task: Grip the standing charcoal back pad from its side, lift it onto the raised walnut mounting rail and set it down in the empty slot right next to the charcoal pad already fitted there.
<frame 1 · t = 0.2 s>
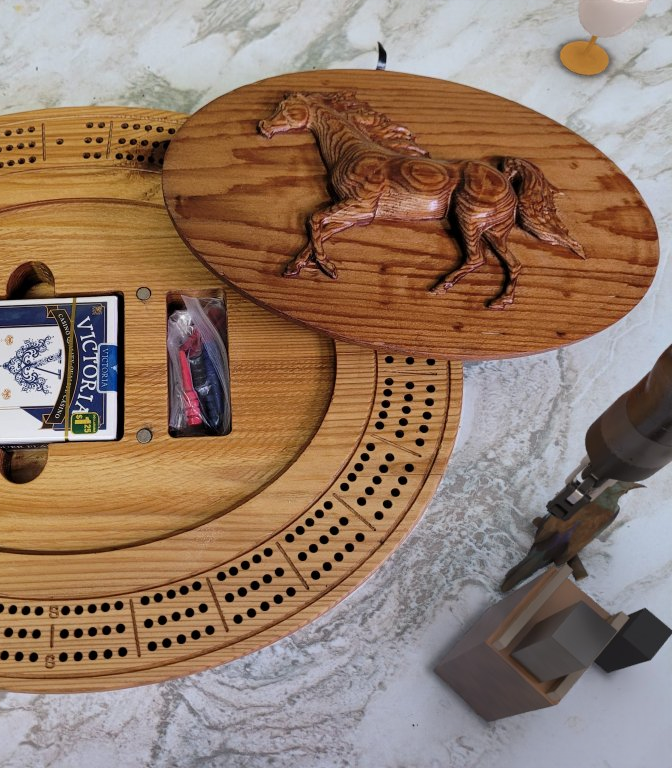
hand: (576, 487, 96), 25 cm above the countertop, tool pointing down, fingers open, 8 cm apart
pad mount: (551, 634, 91), resting on pedestal
pedestal: (487, 663, 111), on the countertop
back pad: (605, 648, 111), on the countertop
cup: (583, 59, 159), on the countertop
bird figurine: (554, 550, 118), on the countertop
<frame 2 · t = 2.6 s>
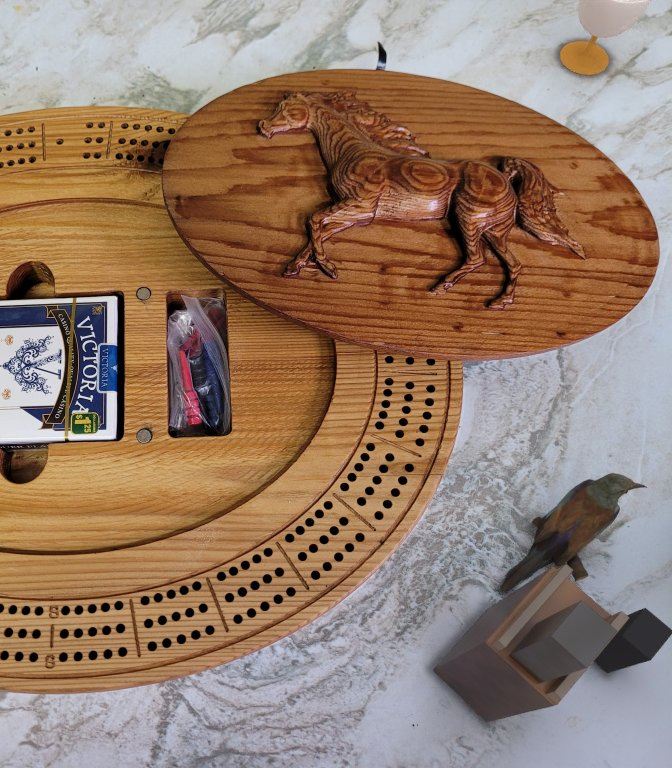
nothing on the countertop moved.
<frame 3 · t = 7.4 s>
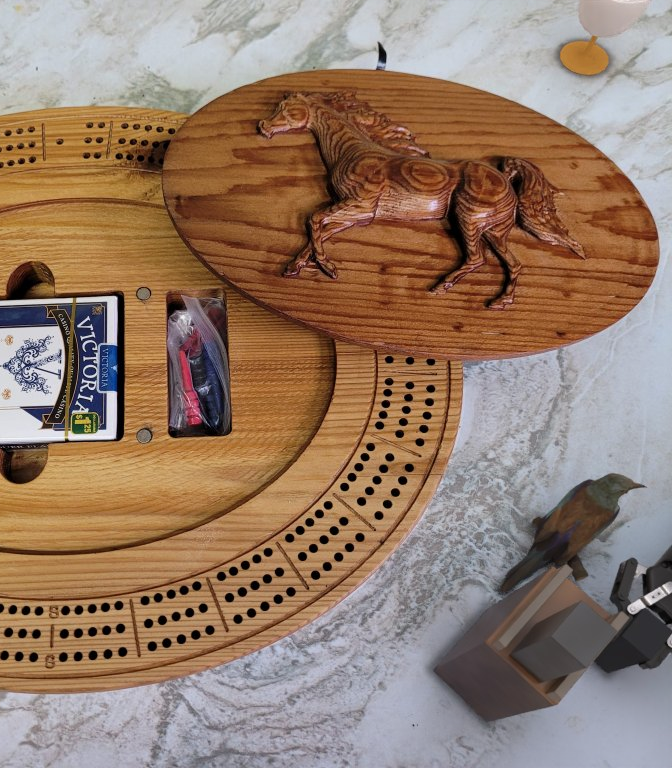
hand: (627, 652, 102), 10 cm above the countertop, tool horizontal, fingers closed on back pad, 4 cm apart
back pad: (605, 648, 111), on the countertop, touching gripper
everything else where it was.
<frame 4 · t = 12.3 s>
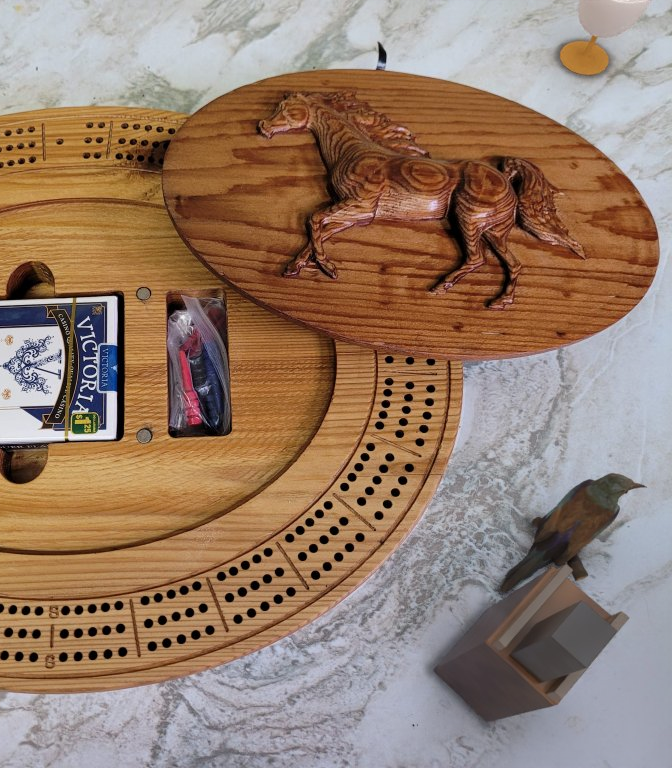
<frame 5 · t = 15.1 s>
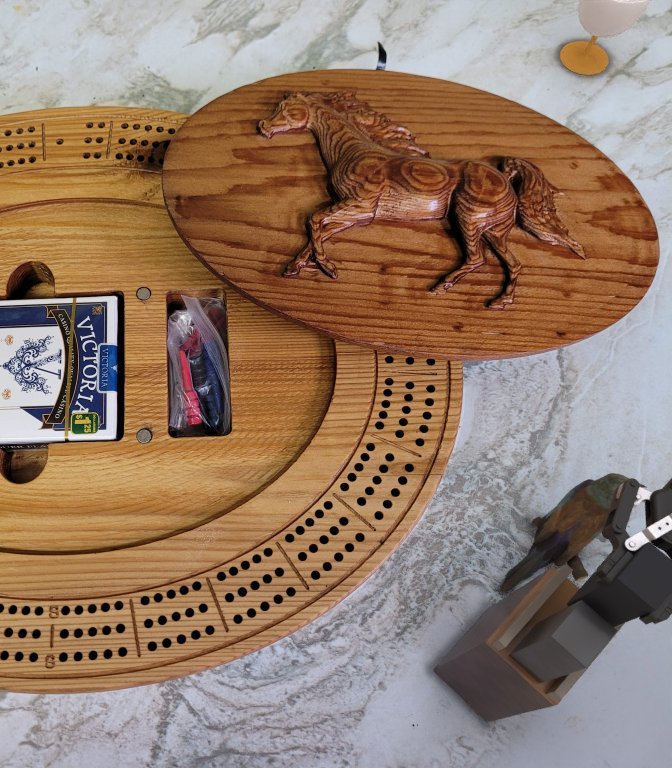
hand: (625, 601, 76), 40 cm above the countertop, tool horizontal, fingers closed on back pad, 4 cm apart
back pad: (596, 602, 85), point 30 cm above the countertop, touching gripper
everything else where it was.
when the fingers open (34 cm above the countertop, at t = 17.0 s): back pad stays where it is, resting on pad mount.
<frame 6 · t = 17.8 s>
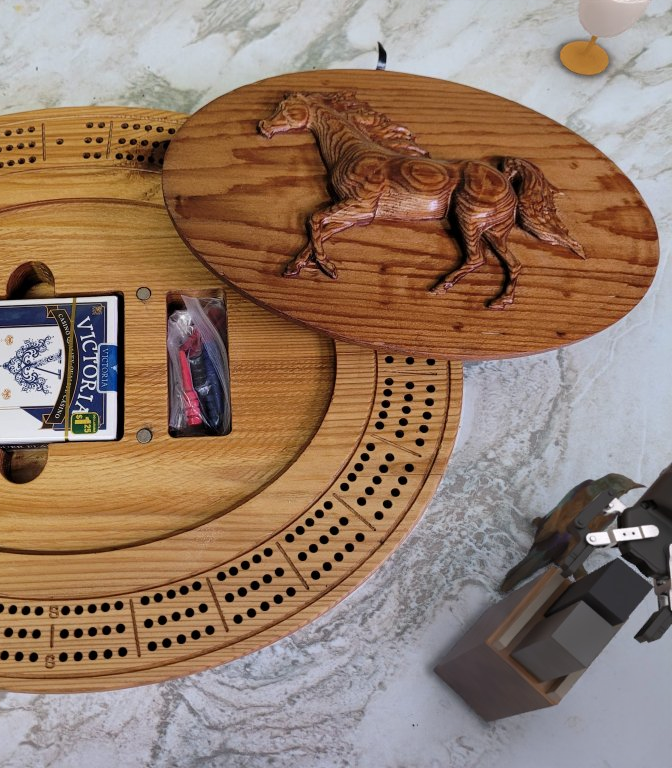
hand: (602, 606, 81), 34 cm above the countertop, tool horizontal, fingers open, 8 cm apart
back pad: (571, 613, 91), point 24 cm above the countertop, touching pad mount
everything else where it was.
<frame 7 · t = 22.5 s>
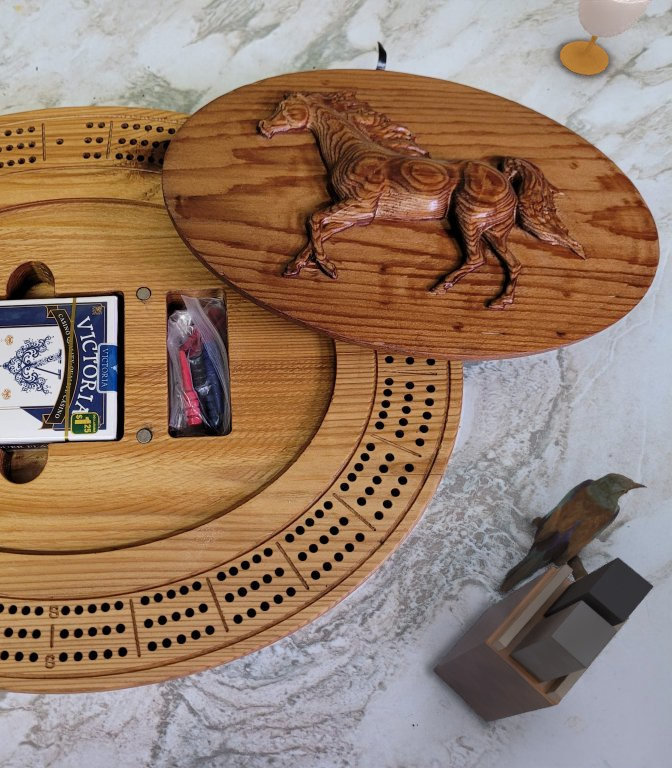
nothing on the countertop moved.
at the end: back pad 0.1 cm from the target spot on the pad mount, point 1.0 cm above the pad mount's base; back pad tilted 0°; the gripper is holding nothing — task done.
